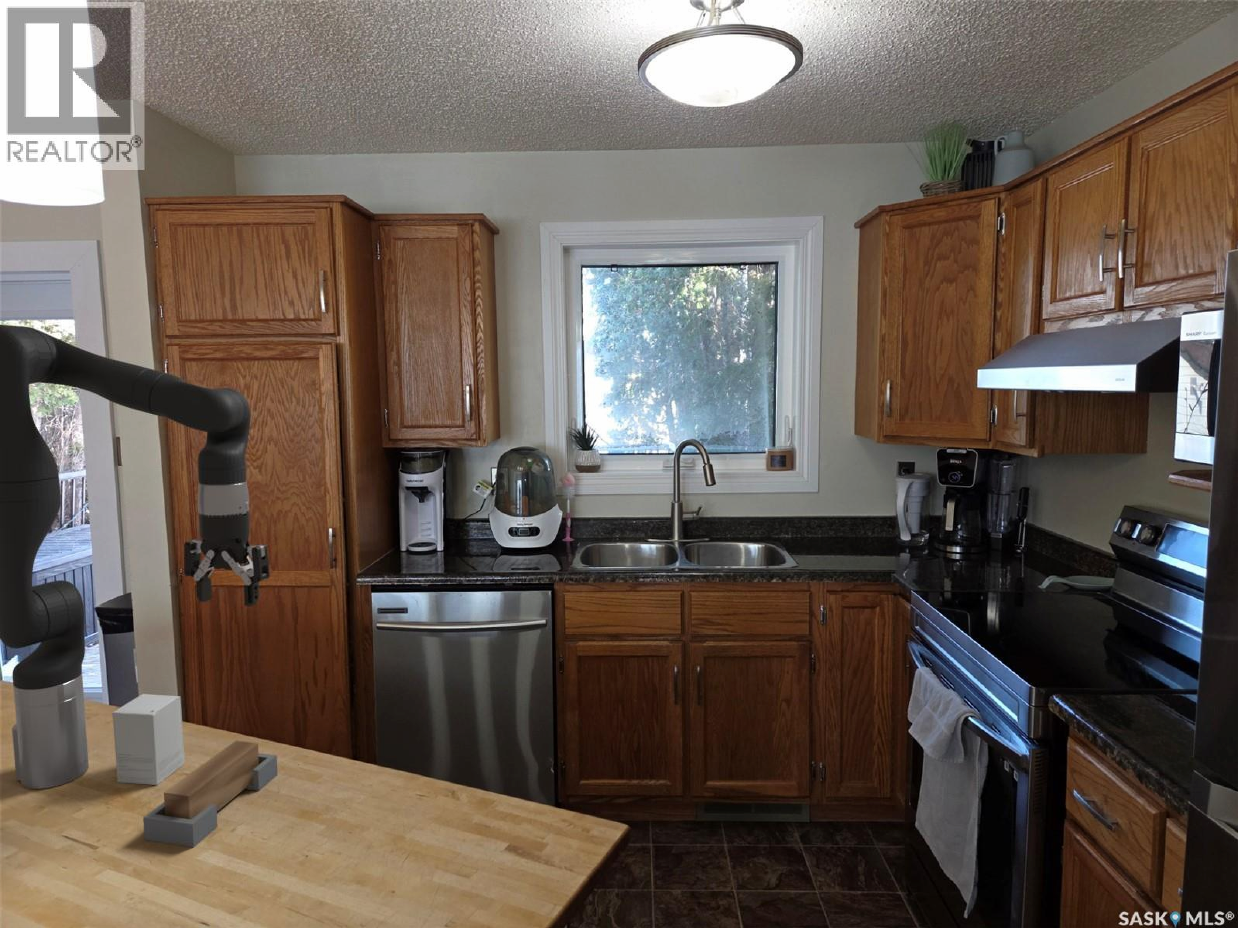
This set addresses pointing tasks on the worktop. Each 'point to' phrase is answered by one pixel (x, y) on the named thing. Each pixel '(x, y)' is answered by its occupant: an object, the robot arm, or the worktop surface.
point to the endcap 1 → (179, 826)
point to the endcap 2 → (263, 771)
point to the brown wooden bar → (213, 781)
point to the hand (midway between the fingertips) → (228, 602)
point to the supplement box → (148, 739)
